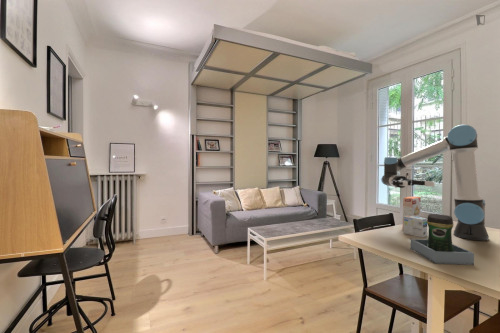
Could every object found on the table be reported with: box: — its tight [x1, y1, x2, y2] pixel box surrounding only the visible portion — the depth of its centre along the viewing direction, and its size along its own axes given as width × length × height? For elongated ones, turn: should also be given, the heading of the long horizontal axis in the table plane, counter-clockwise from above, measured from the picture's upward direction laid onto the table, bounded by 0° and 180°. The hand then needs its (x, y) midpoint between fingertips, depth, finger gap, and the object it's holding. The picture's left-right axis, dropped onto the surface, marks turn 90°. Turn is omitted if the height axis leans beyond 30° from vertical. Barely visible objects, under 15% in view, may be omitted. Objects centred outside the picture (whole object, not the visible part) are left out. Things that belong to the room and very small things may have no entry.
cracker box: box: [402, 195, 421, 230], centre depth 157 cm, size 14×6×21 cm, turn 127°
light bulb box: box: [402, 215, 428, 238], centre depth 144 cm, size 11×7×11 cm, turn 34°
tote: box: [409, 238, 475, 266], centre depth 110 cm, size 16×18×5 cm
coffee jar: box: [427, 213, 454, 252], centre depth 110 cm, size 10×8×19 cm
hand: (420, 184), depth 127 cm, fingers open, 13 cm apart
